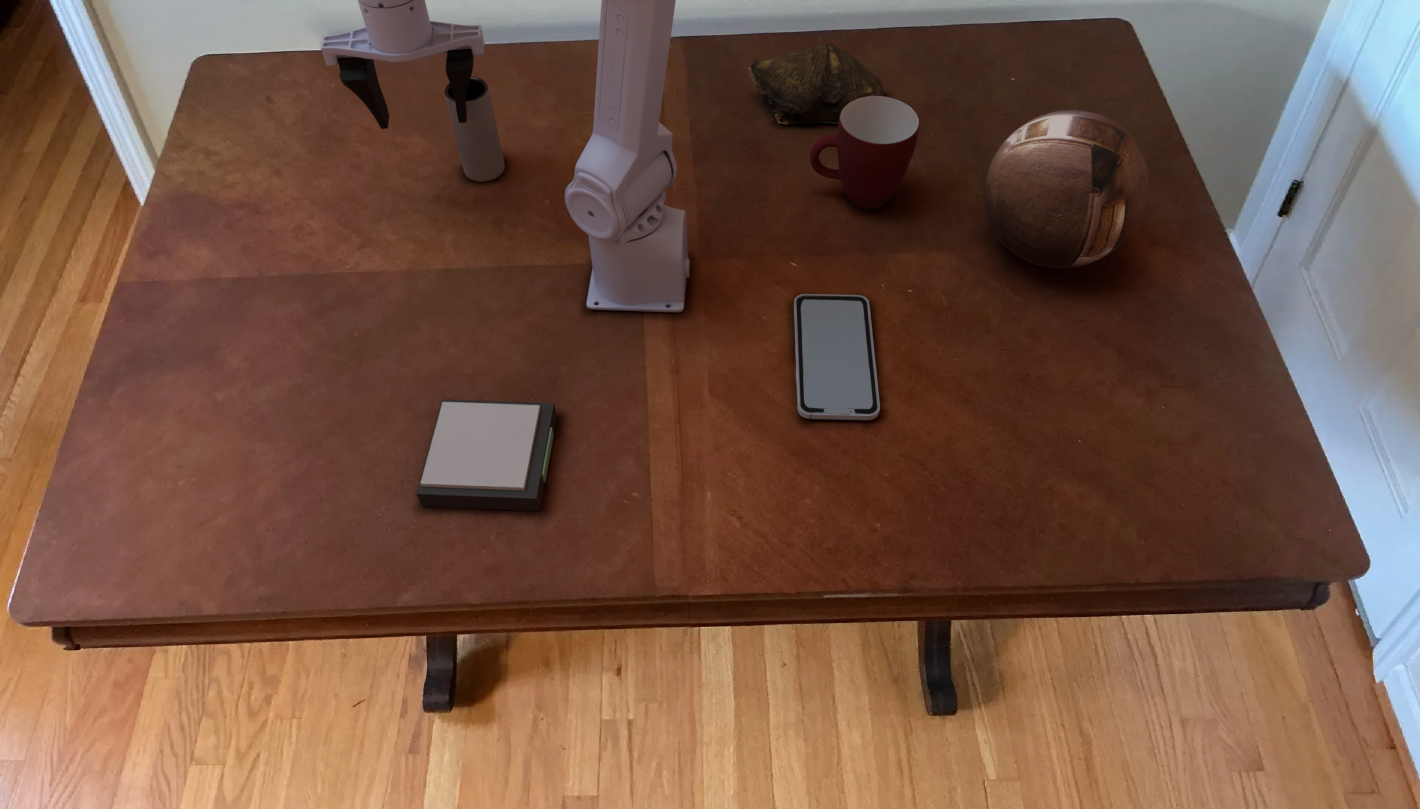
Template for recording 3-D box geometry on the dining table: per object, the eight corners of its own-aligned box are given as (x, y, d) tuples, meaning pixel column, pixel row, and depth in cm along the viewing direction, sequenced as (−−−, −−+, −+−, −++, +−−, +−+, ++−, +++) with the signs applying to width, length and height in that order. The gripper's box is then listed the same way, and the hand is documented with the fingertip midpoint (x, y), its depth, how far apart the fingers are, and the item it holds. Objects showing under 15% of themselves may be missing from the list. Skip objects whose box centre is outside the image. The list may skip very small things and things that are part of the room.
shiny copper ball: (965, 195, 108) (996, 73, 96) (1106, 203, 107) (1155, 81, 95) (976, 295, 98) (1012, 174, 87) (1131, 304, 98) (1188, 183, 86)
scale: (558, 416, 89) (555, 399, 87) (541, 511, 83) (537, 495, 81) (446, 412, 90) (440, 395, 88) (421, 506, 84) (414, 490, 82)
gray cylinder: (497, 184, 109) (479, 104, 101) (458, 179, 110) (437, 99, 102) (510, 158, 112) (494, 78, 104) (472, 153, 112) (453, 73, 104)
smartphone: (868, 295, 97) (881, 415, 88) (867, 301, 98) (880, 421, 89) (793, 293, 98) (797, 414, 88) (792, 299, 98) (797, 420, 89)
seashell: (881, 76, 120) (891, 32, 114) (886, 135, 117) (898, 94, 110) (745, 75, 120) (748, 31, 114) (746, 135, 116) (750, 93, 110)
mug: (809, 223, 105) (817, 145, 97) (804, 173, 110) (811, 95, 102) (909, 222, 105) (925, 144, 97) (900, 172, 110) (914, 94, 102)
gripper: (472, -38, 92) (498, 90, 102) (311, -27, 91) (354, 101, 101) (470, 4, 87) (497, 132, 98) (301, 15, 86) (347, 144, 97)
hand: (424, 119), depth 99 cm, fingers open, 7 cm apart
